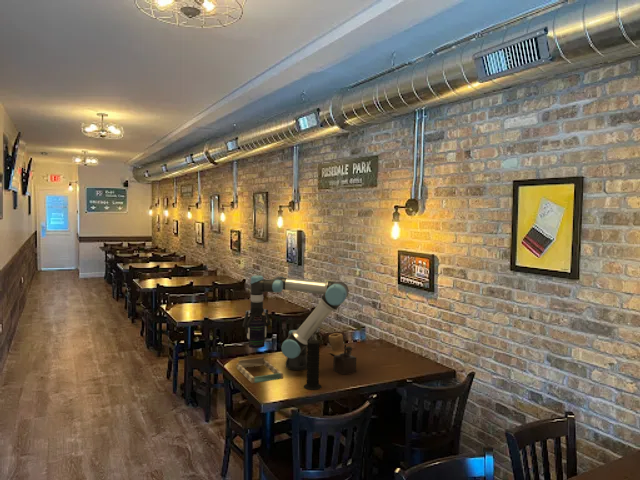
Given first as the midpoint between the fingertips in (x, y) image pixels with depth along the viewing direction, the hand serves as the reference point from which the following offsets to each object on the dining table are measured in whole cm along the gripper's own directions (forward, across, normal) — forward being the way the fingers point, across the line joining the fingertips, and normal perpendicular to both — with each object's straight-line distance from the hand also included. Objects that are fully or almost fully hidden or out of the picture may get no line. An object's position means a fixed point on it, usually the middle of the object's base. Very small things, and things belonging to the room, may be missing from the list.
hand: (256, 337), depth 288 cm
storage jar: (+5, 0, 0) cm, 5 cm away
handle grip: (+21, -20, +38) cm, 48 cm away
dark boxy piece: (+21, -49, +24) cm, 59 cm away
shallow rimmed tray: (+21, 0, +5) cm, 21 cm away
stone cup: (+21, -61, -8) cm, 65 cm away
